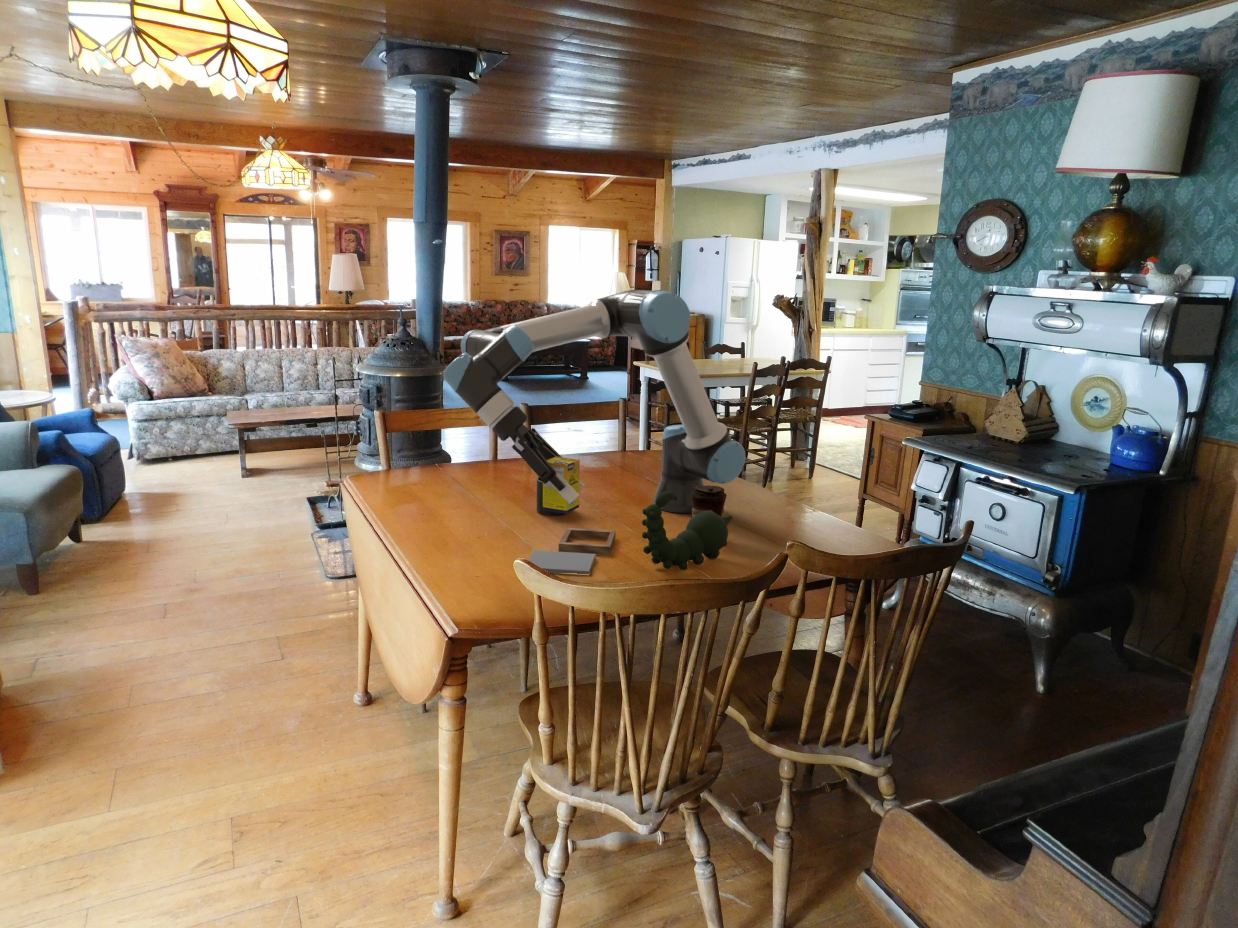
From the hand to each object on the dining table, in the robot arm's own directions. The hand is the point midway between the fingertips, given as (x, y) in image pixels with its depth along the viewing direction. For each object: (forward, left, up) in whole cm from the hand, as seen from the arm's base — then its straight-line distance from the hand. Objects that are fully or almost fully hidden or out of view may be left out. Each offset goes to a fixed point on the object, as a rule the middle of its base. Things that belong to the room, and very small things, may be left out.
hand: (577, 494), depth 170 cm
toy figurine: (-25, -6, -17) cm, 30 cm away
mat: (+3, 0, -16) cm, 17 cm away
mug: (+11, -39, -17) cm, 44 cm away
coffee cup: (-29, -24, -17) cm, 41 cm away
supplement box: (+4, 0, -4) cm, 5 cm away
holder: (-1, -14, -16) cm, 21 cm away
